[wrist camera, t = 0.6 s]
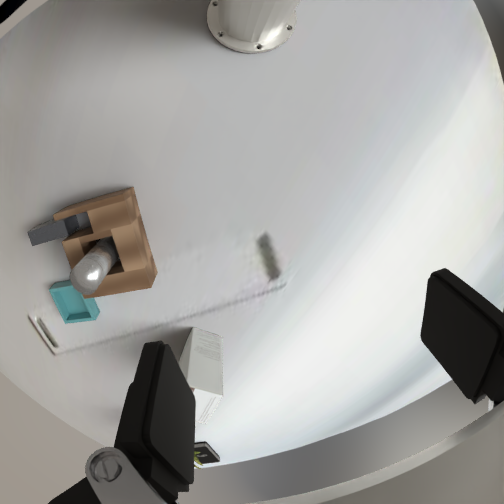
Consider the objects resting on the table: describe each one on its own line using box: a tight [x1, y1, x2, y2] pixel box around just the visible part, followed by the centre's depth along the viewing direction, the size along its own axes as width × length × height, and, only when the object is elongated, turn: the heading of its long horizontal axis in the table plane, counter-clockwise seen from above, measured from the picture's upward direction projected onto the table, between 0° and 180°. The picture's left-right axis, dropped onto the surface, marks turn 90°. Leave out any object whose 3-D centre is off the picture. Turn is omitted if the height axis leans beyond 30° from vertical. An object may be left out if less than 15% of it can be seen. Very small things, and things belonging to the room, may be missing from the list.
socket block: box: [53, 187, 158, 299], centre depth 40 cm, size 14×12×5 cm
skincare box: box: [179, 327, 223, 424], centre depth 45 cm, size 8×6×15 cm
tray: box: [49, 280, 100, 324], centre depth 45 cm, size 7×7×2 cm
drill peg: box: [70, 236, 119, 295], centre depth 37 cm, size 4×4×12 cm
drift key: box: [28, 215, 79, 246], centre depth 39 cm, size 2×8×4 cm, turn 99°
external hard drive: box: [194, 442, 220, 464], centre depth 67 cm, size 7×11×2 cm, turn 15°
